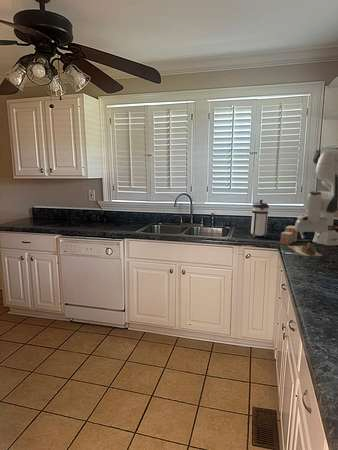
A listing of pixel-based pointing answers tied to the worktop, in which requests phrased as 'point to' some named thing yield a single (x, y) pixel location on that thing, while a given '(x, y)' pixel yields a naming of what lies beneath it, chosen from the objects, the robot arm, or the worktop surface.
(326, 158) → the robot arm
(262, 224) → the coffee press
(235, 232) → the worktop surface
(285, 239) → the stack of blocks
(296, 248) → the lacing board
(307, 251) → the walnut bead
